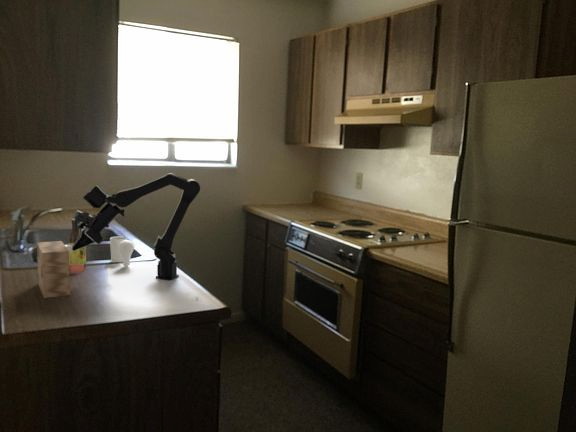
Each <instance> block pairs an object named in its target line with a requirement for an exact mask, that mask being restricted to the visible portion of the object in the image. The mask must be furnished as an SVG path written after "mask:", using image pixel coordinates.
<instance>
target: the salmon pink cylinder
mask: <svg viewBox="0 0 576 432" xmlns="http://www.w3.org/2000/svg"><path fill="white" fill-rule="evenodd" d="M85 269H86V268H84V264H75V265H70V264H69V275H71V274H72V275H73V274H81V273H82V274H84V273H85Z"/></svg>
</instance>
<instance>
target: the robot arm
mask: <svg viewBox="0 0 576 432" xmlns="http://www.w3.org/2000/svg"><path fill="white" fill-rule="evenodd" d="M168 186H173V187H175V188H178V189H180V190H182V191H181V196H180V199H179V202H178V204H177V206H176V208H175V211H174V213H173V214H172V217H171V218H170V221H169V223H168V226H167V227H166V230H165V232H164V233H163V234H162V236H160V235H157V238H156V241H155V242H154V243H153V251H154V252H153V253H154V254H153V255H154V256H155V258H157V259H158V261H157V262H158V263H157V265H156V266H157V267H156V268H157V271H156V273H157V275H156V276H155V278H156V279H161V280H167V281H169V280H170V281H171V280H173V279H175V278H178V277H179V276H180V274H177V273H178V272H177V271H178V268H177V267H178V264H177V263H178V261H176V253H175V252H174V251H173V250H172V248H173V247H172V246H173V242H174V239H175V236H176V234H177V233H178V229H179V228H180V225H181V223H182V222H183V219H184V217H185V216H186V214H187V211H188V208H189V206H190V205H191V203H193V201H194V200H195V198H197V196H198V195H199V193H200V191H201V185H200V183H199V182H198V180H196V179H194V178H189V179H186V178H184V177H181V176H178V175H176V174H174V173H172V172H171V173H170V172H169V173H167V174H165V175H163V176H160V177H158V178H155V179H154V180H151V181H149V182H146V183H144V184H142V185H139V186H136V187H131V188H127V189H126V188H125V189H121V190H120V191H118V192H117V193H115V194H114V193H113V194H107V193H106V192H104V191H103V190H102V189H101V187H100V186H98V185H97V184H96V185H95V186H94V187H93V188H92V189H91V190H89V191H88V192H86V194H85V195H84V196H83V197H82V199H83V200H84V202H86V203H87V204H88V205H89V206H90V207H92V208H93V210H95V209H100V210H99V211H98V212H97V213H93V214H92V215H90V213H89V212H86V211H85V210H83V212H82V211H80V210H78V209H77V210H75V213H74V215H73V217H72V219H74V220H76V221H81V222H80V223H79V224H78V226H79V227H80V228H81V230H80V229H79V236H78V238H77V240H76V242H75V243H74V245H73V247H72V250H77V249H79V248H81V247H84V246H86V247H87V246H89V245H91V244H94V243H96V244H98V245H100V244H101V243H102V242H103V238H104V237H103V236H102V234H101V233H102V232H103V231H104V230H105V229H106V228H107V229H108V228H110V224H111V223H112V222H113V221H114V220H115V218H117V217H118V216H120V217H122V218H124V217H125V210H126V209H124V208H126V207H128V206H130V205H131V204H133V203H134V202H136V201H138V200H139V199H140V198H142V197H144V196H146V195H148V194H151V193H153V192H157V191H158V190H161V189H163V188H165V187H168ZM105 203H106V204H105ZM112 204H114V205H112ZM103 205H104V206H103ZM102 206H103V207H102ZM101 207H102V208H101ZM121 208H123V209H121Z"/></svg>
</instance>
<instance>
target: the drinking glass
mask: <svg viewBox="0 0 576 432" xmlns="http://www.w3.org/2000/svg"><path fill="white" fill-rule="evenodd" d="M123 240H127V237H126V236H120V235H119V236H118V235H117V236H111V237H110V238H109V245H110V248H109V249H110V262H111V261H112V262H111V263H115V262H120V263H123V260H122V255H121V253H120V251H119V249H118V246H119V244H120V242H122V241H123Z"/></svg>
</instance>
